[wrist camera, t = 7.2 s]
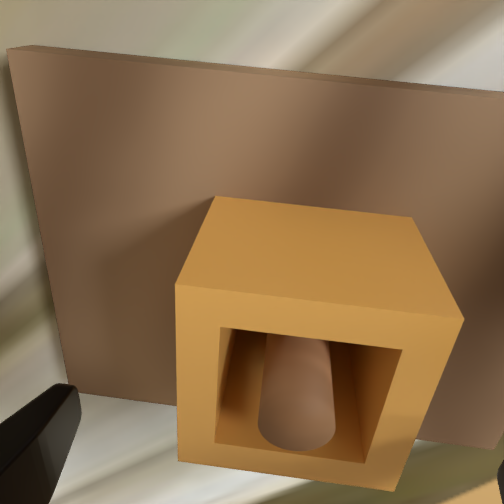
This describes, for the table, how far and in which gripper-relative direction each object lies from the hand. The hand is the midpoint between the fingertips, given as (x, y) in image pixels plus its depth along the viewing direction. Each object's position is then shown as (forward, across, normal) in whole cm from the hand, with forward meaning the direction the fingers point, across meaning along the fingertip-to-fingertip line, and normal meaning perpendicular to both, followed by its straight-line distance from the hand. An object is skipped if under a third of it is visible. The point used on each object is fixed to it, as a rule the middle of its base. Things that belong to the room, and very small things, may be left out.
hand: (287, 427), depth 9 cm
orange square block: (+5, 0, 0) cm, 5 cm away
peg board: (+6, 0, 0) cm, 6 cm away
